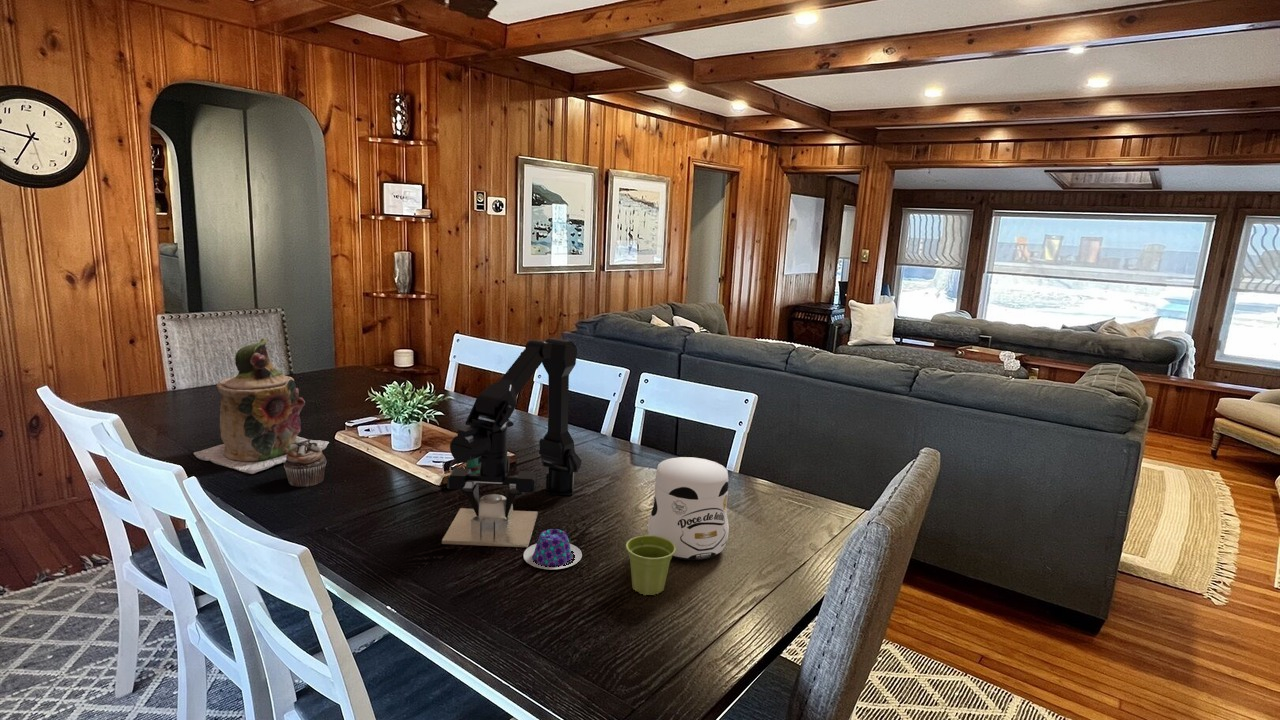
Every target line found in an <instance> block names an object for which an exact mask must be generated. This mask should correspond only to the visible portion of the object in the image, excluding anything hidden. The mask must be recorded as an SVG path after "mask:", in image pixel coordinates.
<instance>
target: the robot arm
mask: <svg viewBox="0 0 1280 720" xmlns="http://www.w3.org/2000/svg"><path fill="white" fill-rule="evenodd" d="M524 347H525V348H524V349H523V351H522V352H521V353H520V354H519V356H518V357H517V358H516V360H515V361H514V362H513V363H512V365H510V367H509V368H508V370H507V371H506V372H505V374H504V375H503V376H502V377H501V378H500V379H499V380H498V381H497V382H494V383H492V384H489V385H488V386H487V387H485V389H483V390H482V391H481V392H480V393H479V394H478V396H477V397H476V398H475V402H474V403H473V405H472V407H471V410H470V412H469V415H468V417H467V419H466V420H465V423H464V424H465V425H466V426H468V427H465V428H464V427H463V428H459V429H458V430H457V435H456V436H454V437H453V438H452V439H451V441H450V444H449V450H450V453H451V456H452V457H453V460H456V461H458V462H457V463H460V464H466V462H468V461H470V460H473V459H475V458H478V464H480V475H479V474H471V469H464V468H465V467H463V468H459V467H455V469H454V470H453V471H452V470H451V472H450V474H449V475H448V476H447V480H446V481H447V482H446V487H447V489H449V490H459V492H460V494H464V495H465V496H466V498H467V499H468V501H469V503H470V504H471V506H472V509H474V511H475V513H476V515H477V517H479V499H480V494H479V486H480V485H481V484H482V485H483V484H485V485H504V486H505V485H507V486H509V488H508V490H507V493H506V499H507V501H506V510H505V517H506V518H507V517H508V514H509V512H510V509H511V506H512V505H513V503H514V500H515V499H516V497H517V496H522V494H523V493H534V492H535V491H536V487H537V484H538V474H537V472H536V471H532V470H531V471H530V470H529V471H528V470H519V471H518V474H517V475H507V474H509V471H510V464H511V463H510V462H511V455H508V429H509V428H510V427H513V426H514V422H513V421H512V420H511V419H510V417H511V416H512V414H513V413H514V411H515V409H516V407H517V406H518V397H519V396H518V395H519V394H520V392H521V391H522V389H524V387H525V386H526V384H527V383H528V382H529V380H530V379H531V378H532V376H533V375H534V374H535V372H536V371H537V370H538V368H539V367H540V366H541V364H542V366H543V368H544V370H545V372H546V373H547V375H548V376H547V377H548V381H547V382H548V383H547V384H548V385H547V386H548V388H547V389H548V390H547V392H548V393H547V395H548V396H547V401H548V402H547V403H548V404H547V432H546V433H545V434H544V436H543V438H540V439H539V442H538V443H539V450H538V455H539V457H540V459H541V464H542V467H544V468H545V467H546V468H548V470H547V471H546V474H545V490H546V494H547V495H555V496H556V495H558V496H573V494H574V488H575V484H574V479H575V478H574V477H575V473H578V472H579V469H580V468H581V466H582V462H583V461H582V459H581V458H580V456H579V455H578V454H577V453H576V450H575V441H574V439H573V437H572V436H571V433H570V432H569V389H570V388H569V387H570V385H569V383H570V382H569V381H570V374H571V372H572V371H573V370H574V368H575V366H576V364H577V355H578V348H577V344H575V343H574V341H572V340H567V339H560V338H554V337H549V338H546V340H545V341H544V340H537V339H531V340H528V341H527V342H526V344H525V346H524ZM482 418H483V419H482ZM484 419H487V420H484ZM490 420H491V421H490Z"/></svg>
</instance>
